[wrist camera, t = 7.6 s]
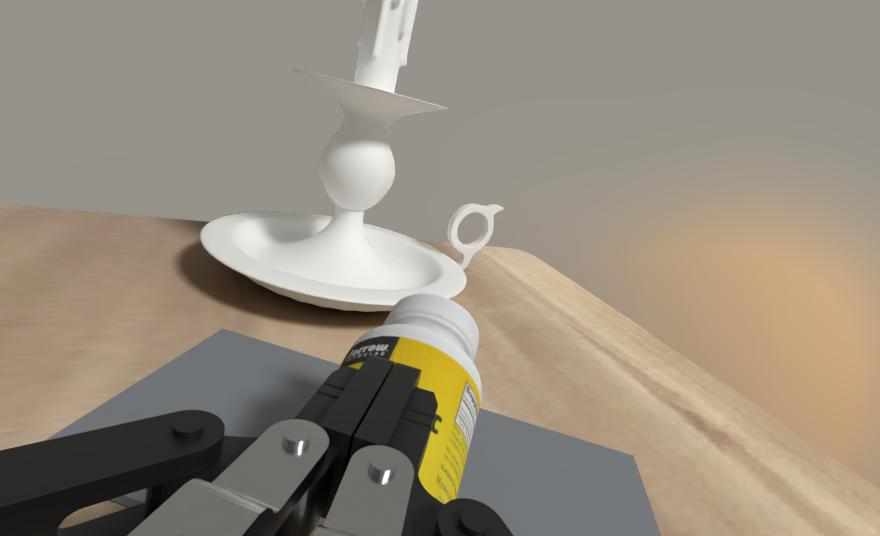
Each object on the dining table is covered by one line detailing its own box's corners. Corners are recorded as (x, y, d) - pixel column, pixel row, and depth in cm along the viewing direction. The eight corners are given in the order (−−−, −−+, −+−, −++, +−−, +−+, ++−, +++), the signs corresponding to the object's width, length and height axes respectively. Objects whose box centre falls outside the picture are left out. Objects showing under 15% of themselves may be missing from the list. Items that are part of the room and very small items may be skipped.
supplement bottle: (215, 498, 12) (362, 274, 20) (280, 591, 16) (387, 366, 23) (413, 544, 11) (491, 282, 18) (442, 636, 14) (499, 379, 22)
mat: (714, 714, 15) (719, 705, 15) (17, 467, 17) (17, 457, 17) (630, 461, 26) (633, 455, 26) (222, 334, 28) (222, 328, 28)
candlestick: (545, 342, 39) (676, -44, 31) (208, 353, 26) (281, -301, 18) (430, 254, 56) (495, -13, 48) (188, 234, 43) (222, -136, 35)
